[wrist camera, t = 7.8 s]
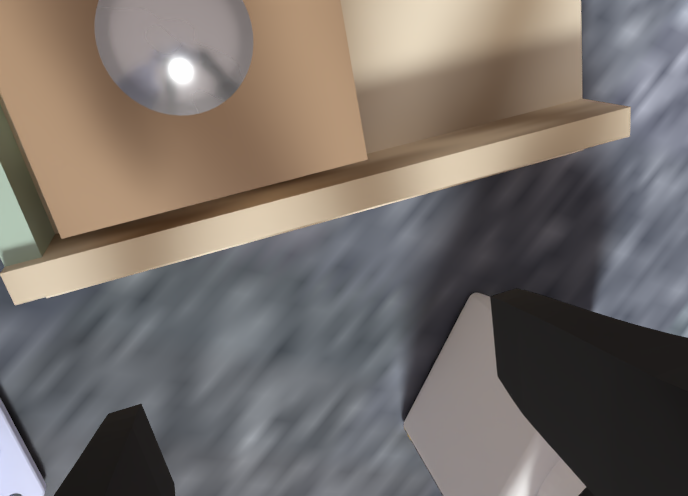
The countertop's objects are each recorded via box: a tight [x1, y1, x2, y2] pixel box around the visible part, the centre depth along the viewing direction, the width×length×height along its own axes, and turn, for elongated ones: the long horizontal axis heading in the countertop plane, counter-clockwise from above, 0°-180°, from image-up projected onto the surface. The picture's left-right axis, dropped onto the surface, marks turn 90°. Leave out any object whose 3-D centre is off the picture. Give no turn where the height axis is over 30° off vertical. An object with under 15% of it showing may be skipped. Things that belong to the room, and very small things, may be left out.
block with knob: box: [0, 0, 368, 239], centre depth 13 cm, size 8×8×9 cm
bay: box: [0, 0, 631, 305], centre depth 17 cm, size 20×14×4 cm
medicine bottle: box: [404, 293, 594, 496], centre depth 21 cm, size 7×7×12 cm
